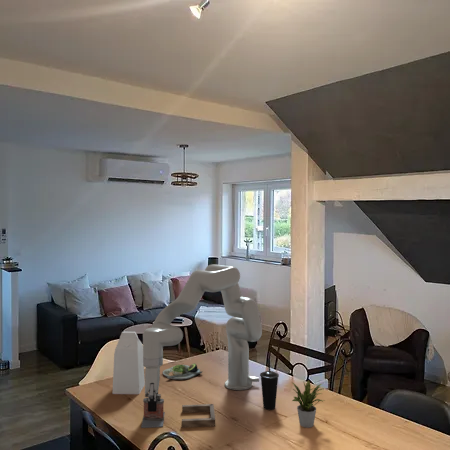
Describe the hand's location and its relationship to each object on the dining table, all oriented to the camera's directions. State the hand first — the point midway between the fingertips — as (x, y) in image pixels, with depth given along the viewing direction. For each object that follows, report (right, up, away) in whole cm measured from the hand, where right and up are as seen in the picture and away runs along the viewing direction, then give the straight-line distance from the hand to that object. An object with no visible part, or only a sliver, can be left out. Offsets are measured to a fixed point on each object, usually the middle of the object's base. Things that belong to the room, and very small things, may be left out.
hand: (153, 406), depth 172 cm
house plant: (+59, -6, -5) cm, 60 cm away
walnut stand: (+17, -5, +1) cm, 18 cm away
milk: (-16, -5, +31) cm, 36 cm away
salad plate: (+6, -5, +51) cm, 52 cm away
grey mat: (0, -5, 0) cm, 5 cm away
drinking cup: (+46, -5, +11) cm, 47 cm away
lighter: (0, -5, 0) cm, 5 cm away
